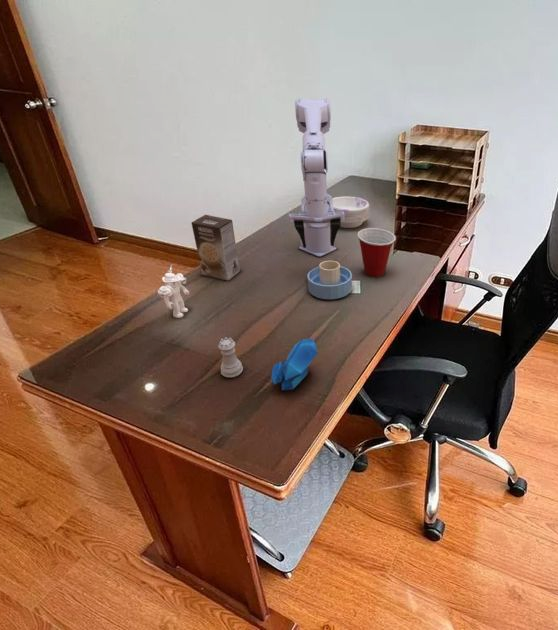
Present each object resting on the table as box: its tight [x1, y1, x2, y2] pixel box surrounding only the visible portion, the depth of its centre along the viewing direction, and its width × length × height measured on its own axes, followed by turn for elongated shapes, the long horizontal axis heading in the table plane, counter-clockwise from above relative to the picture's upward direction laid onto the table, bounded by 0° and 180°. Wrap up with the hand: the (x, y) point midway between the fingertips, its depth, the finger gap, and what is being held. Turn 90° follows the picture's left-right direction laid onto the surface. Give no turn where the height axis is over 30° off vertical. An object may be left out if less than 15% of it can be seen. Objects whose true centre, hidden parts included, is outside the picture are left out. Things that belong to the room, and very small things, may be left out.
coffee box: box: [191, 214, 241, 281], centre depth 122 cm, size 9×6×16 cm
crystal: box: [270, 338, 319, 391], centre depth 88 cm, size 7×9×12 cm
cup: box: [318, 260, 341, 285], centre depth 118 cm, size 6×6×7 cm
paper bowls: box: [332, 195, 370, 229], centre depth 158 cm, size 15×15×8 cm
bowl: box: [306, 265, 353, 300], centre depth 119 cm, size 12×12×4 cm
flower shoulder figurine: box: [157, 264, 190, 319], centre depth 105 cm, size 9×4×12 cm, turn 169°
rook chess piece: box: [217, 336, 244, 379], centre depth 89 cm, size 4×4×8 cm
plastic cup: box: [357, 227, 396, 278], centre depth 126 cm, size 11×11×12 cm
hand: (318, 245), depth 122 cm, fingers open, 7 cm apart
